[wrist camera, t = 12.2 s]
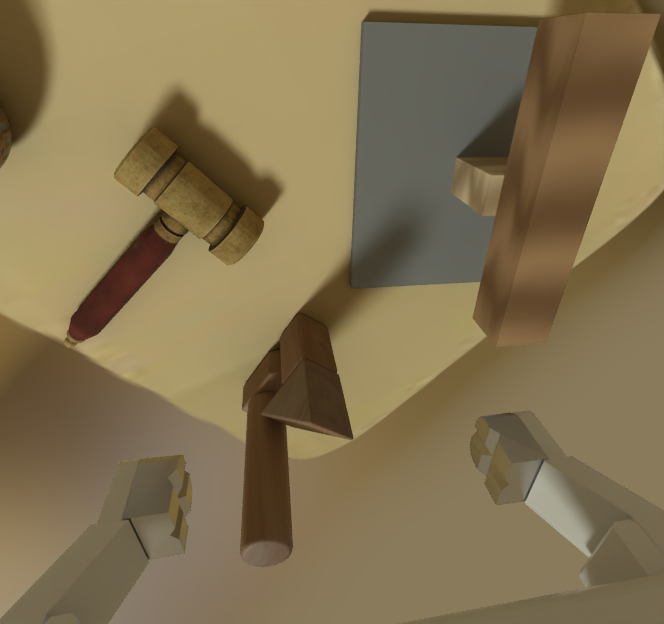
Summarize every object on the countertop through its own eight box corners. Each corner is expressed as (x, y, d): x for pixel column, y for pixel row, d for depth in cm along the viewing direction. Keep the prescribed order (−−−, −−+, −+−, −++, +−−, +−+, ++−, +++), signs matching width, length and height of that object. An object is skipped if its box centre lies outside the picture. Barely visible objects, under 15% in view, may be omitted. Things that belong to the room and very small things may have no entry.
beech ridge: (456, 157, 32) (491, 175, 27) (526, 156, 33) (573, 173, 28) (450, 192, 34) (482, 215, 29) (517, 191, 35) (560, 213, 29)
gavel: (110, 389, 37) (-7, 329, 32) (127, 356, 41) (24, 299, 36) (264, 237, 30) (142, 132, 25) (267, 214, 34) (161, 120, 29)
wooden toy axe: (328, 326, 40) (366, 487, 25) (272, 397, 44) (275, 574, 29) (297, 310, 39) (317, 471, 24) (241, 385, 43) (228, 565, 27)
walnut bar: (539, 19, 23) (586, 12, 19) (604, 20, 23) (660, 14, 20) (472, 318, 33) (495, 347, 30) (518, 314, 34) (545, 342, 31)
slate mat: (361, 22, 27) (363, 21, 27) (552, 28, 29) (559, 27, 28) (349, 284, 38) (351, 288, 37) (490, 277, 40) (494, 281, 39)
